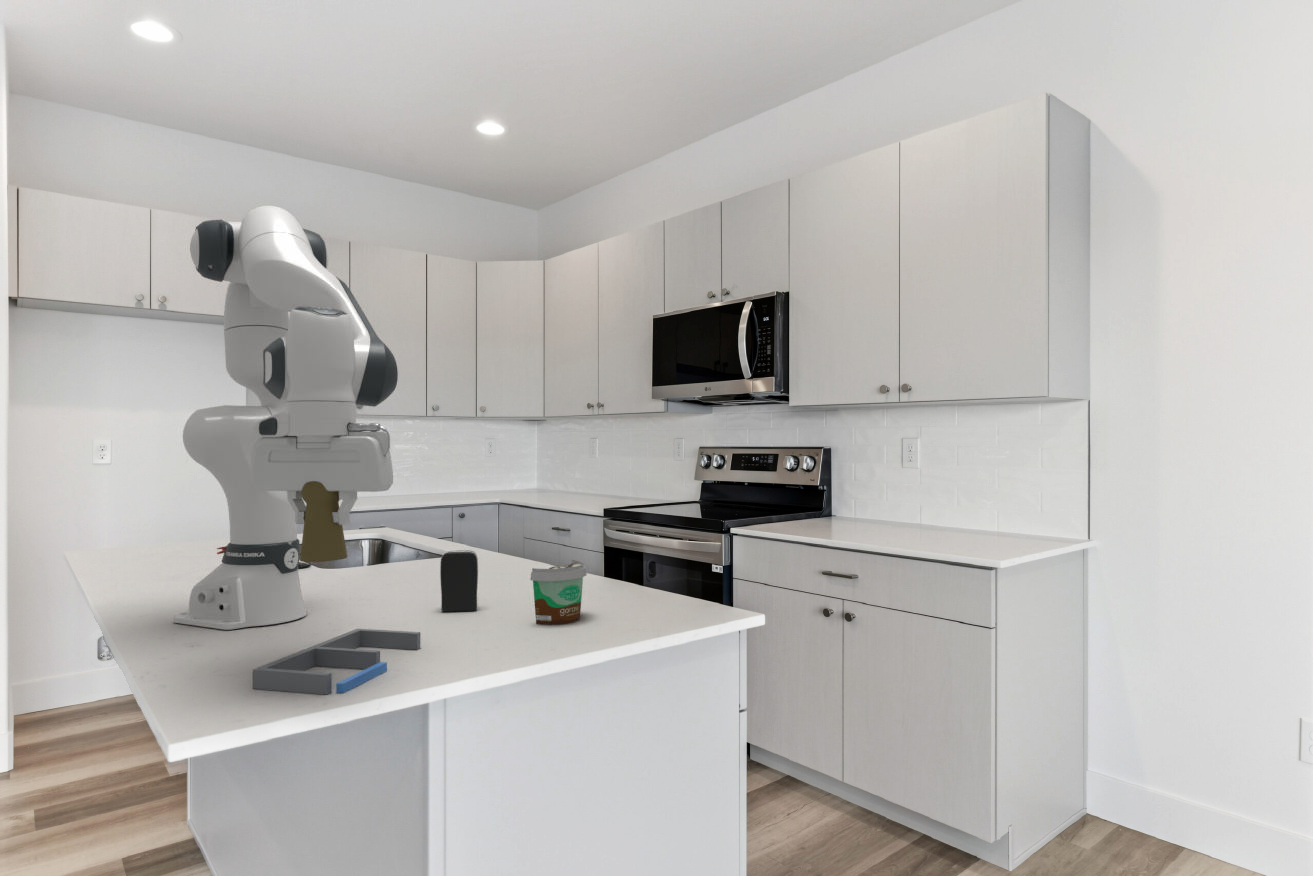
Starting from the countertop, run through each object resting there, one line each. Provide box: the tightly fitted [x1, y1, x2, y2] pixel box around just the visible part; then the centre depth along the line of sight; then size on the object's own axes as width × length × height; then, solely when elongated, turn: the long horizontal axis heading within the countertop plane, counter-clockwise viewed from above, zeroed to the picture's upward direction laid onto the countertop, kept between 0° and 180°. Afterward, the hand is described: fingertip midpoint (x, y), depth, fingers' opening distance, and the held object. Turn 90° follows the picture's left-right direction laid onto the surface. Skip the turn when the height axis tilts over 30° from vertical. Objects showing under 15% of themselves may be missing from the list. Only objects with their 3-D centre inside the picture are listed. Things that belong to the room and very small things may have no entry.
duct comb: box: [251, 628, 421, 695], centre depth 114 cm, size 13×23×2 cm, turn 166°
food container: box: [529, 559, 588, 626], centre depth 142 cm, size 12×6×10 cm, turn 148°
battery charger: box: [439, 549, 479, 613], centre depth 152 cm, size 7×4×11 cm, turn 98°
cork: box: [299, 481, 348, 563], centre depth 109 cm, size 6×6×11 cm
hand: (322, 524), depth 109 cm, fingers closed on cork, 4 cm apart
